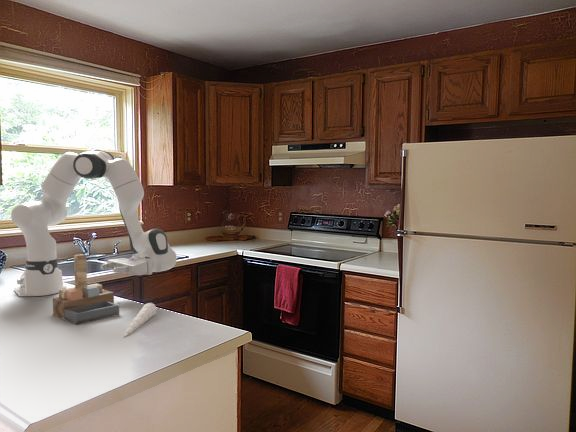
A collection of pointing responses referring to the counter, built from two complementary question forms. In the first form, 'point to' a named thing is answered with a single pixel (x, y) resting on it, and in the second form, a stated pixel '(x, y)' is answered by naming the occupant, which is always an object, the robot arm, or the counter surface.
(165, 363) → the counter surface
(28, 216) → the robot arm
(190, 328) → the counter surface
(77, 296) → the salmon orange block
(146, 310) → the unicorn horn
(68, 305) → the wide wooden plinth
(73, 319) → the bin
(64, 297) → the wooden inverted t block
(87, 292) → the pale blue-grey cube
